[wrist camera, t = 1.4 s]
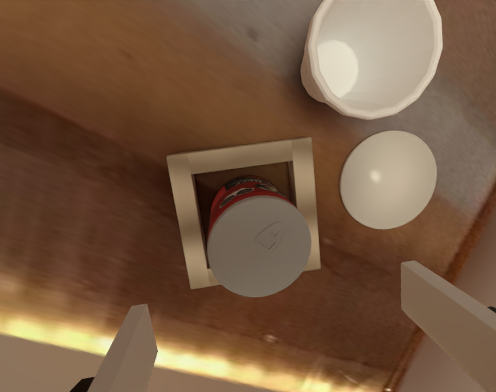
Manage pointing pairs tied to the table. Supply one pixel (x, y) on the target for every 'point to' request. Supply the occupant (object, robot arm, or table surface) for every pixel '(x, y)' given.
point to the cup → (371, 54)
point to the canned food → (256, 238)
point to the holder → (231, 158)
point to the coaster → (387, 179)
